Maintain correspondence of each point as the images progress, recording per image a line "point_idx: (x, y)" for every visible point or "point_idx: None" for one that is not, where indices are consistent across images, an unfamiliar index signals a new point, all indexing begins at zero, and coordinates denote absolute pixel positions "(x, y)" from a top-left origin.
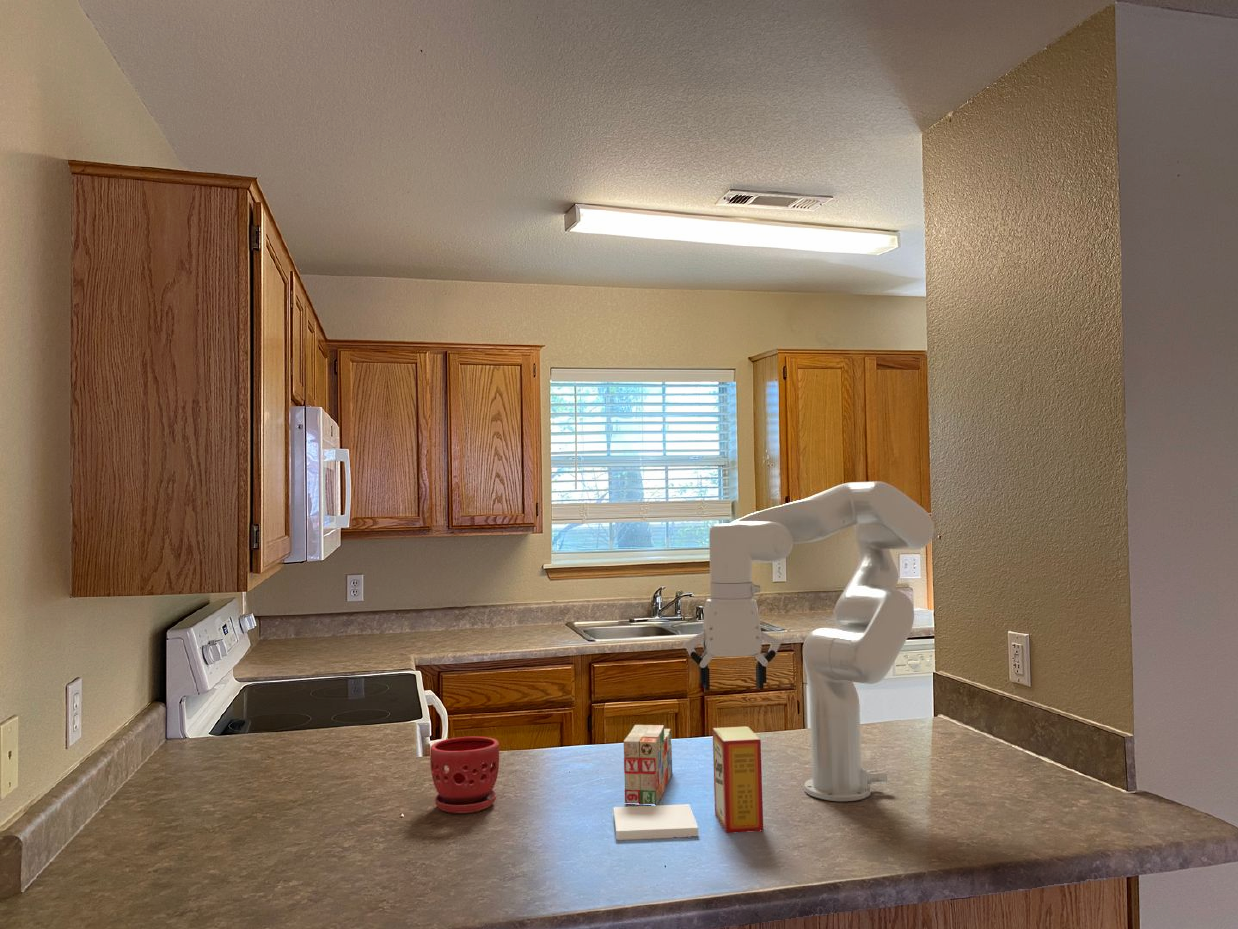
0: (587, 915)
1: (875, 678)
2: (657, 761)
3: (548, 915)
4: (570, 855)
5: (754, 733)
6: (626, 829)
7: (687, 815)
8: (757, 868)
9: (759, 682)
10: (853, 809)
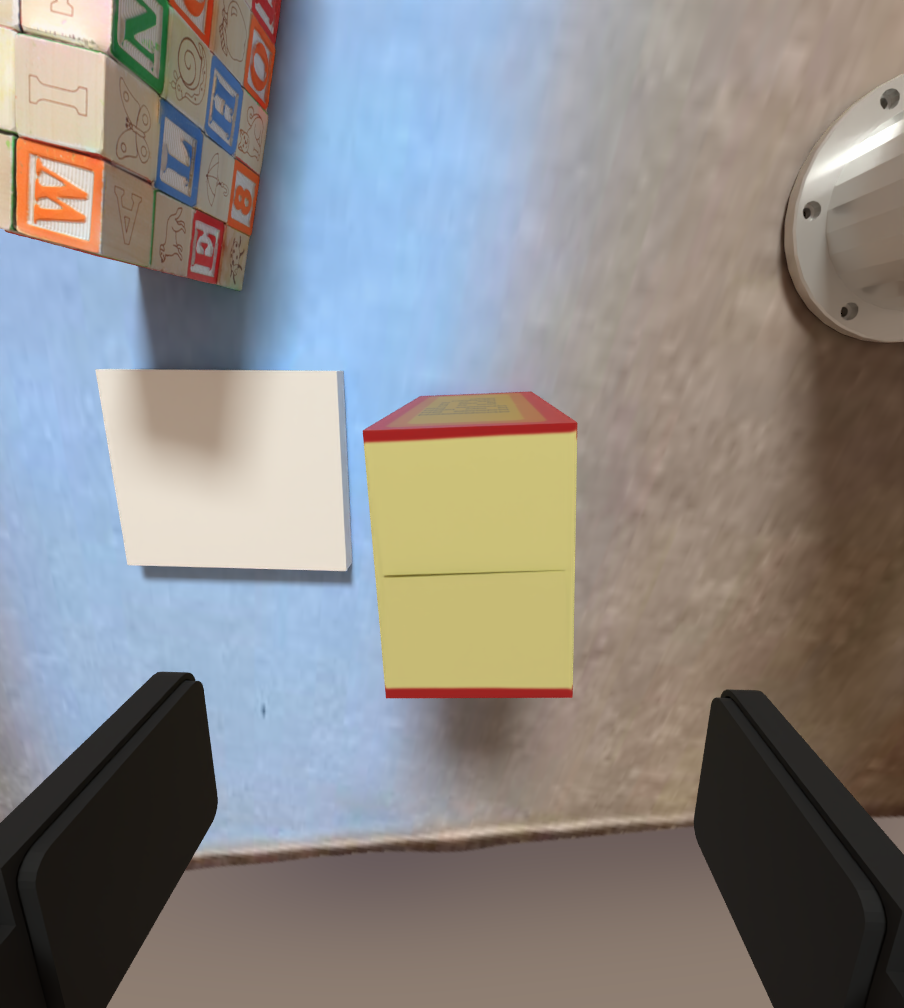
0: None
1: None
2: (170, 219)
3: None
4: (45, 628)
5: (573, 588)
6: (152, 556)
7: (323, 473)
8: (462, 749)
9: (720, 886)
10: (868, 408)
